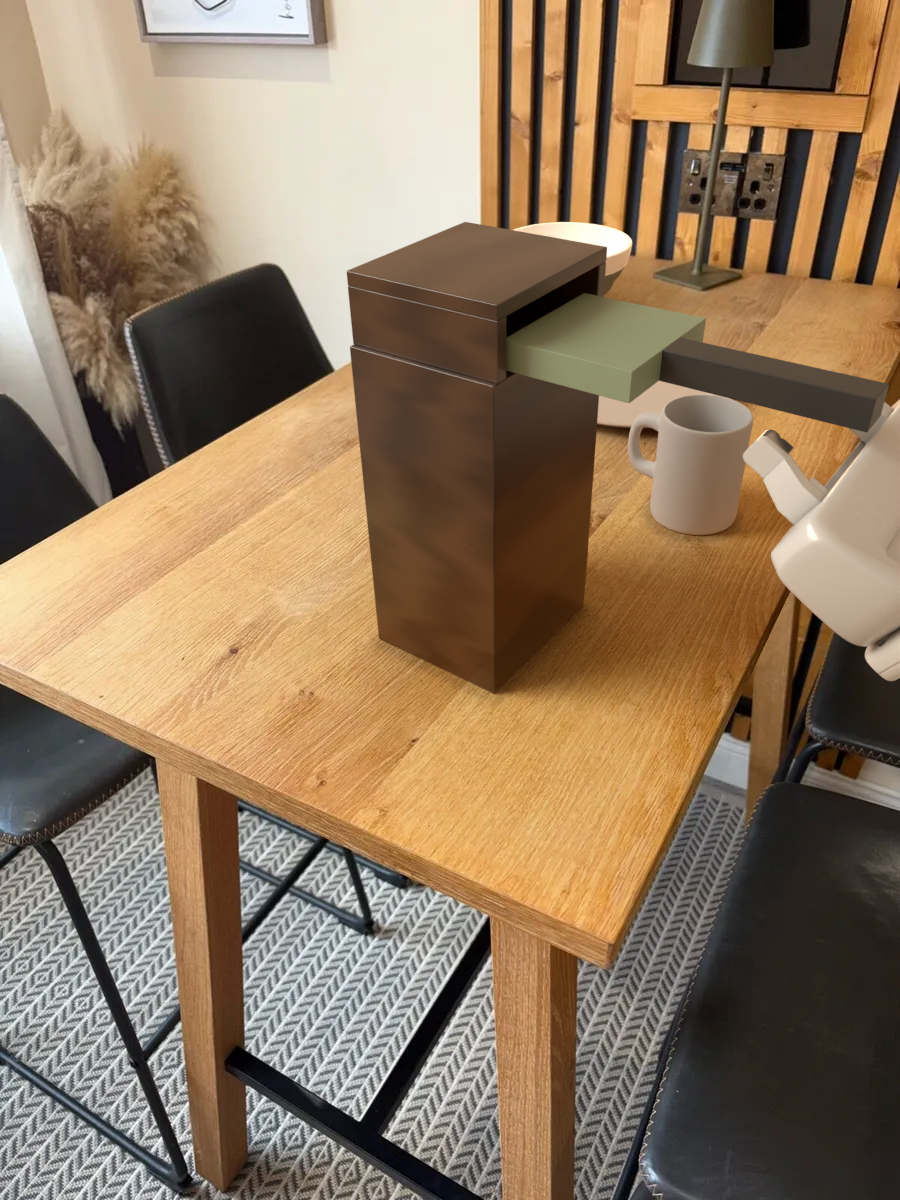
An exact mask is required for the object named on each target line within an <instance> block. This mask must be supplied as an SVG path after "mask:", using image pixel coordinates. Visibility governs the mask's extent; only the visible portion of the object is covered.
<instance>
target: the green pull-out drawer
mask: <svg viewBox="0 0 900 1200" xmlns="http://www.w3.org/2000/svg"><path fill="white" fill-rule="evenodd" d="M706 321H707V318H706V317H701V316H697V315H692V314H689V313H688V314H687V313H682V312H678V311H673V310H668V309H665V308H664V309H663V308H658V307H654V306H649V305H645V304H640V303H636V302H635V303H634V302H631V301H630V302H629V301H624V300H619V299H615V298H611V297H606V296H604V297H601V296H596V295H592V294H587V293H583V294H582V295H580V296H578V297H576V298H575V299H573V300H571V301H569V302H568V303H566V304H564V305H563V306H561V307H559V308H557V309H556V310H554V311H552V312H550V313H549V314H547V315H545V316H543V317H542V318H540V319H538V320H536V321H535V322H533V323H531V324H529V325H528V326H526V327H524V328H522V329H521V330H519V331H517V332H516V333H514V334H512V335H510V336H509V337H507V338H506V371H510V372H513V373H517V374H521V375H524V376H528V377H532V378H536V379H539V380H543V381H547V382H551V383H554V384H558V385H562V386H566V387H569V388H573V389H577V390H580V391H584V392H588V393H592V394H595V395H599V396H603V397H607V398H610V399H614V400H618V401H622V402H625V403H631V402H632V401H633V400H634V399H636V398H637V397H638V396H640V395H641V394H642V393H644V392H645V391H646V390H647V389H649V388H650V387H651V386H653V385H654V384H655V383H657V382H658V381H659V380H660V381H662V382H666V383H670V384H674V385H678V386H682V387H686V388H690V389H694V390H698V391H702V392H706V393H710V394H714V395H718V396H722V397H726V398H730V399H732V400H735V401H737V402H742V403H746V404H751V405H755V406H759V407H763V408H765V409H769V410H770V409H771V410H775V411H779V412H782V413H787V414H790V415H795V416H799V417H802V418H807V419H811V420H815V421H819V422H822V423H827V424H831V425H835V426H839V427H843V428H847V429H849V428H850V429H854V430H858V431H862V432H868V431H869V430H870V428H871V427H872V426H873V425H874V423H875V422H876V421H877V420H878V419H879V417H880V416H881V413H882V409H883V405H884V402H885V403H886V398H887V395H888V390H889V387H890V384H889V383H888V382H887V383H886V382H884V381H883V382H882V381H878V380H874V379H870V378H869V379H868V378H865V377H861V376H857V375H852V374H847V373H842V372H837V371H833V370H831V371H829V370H830V369H823V368H819V367H816V366H815V367H814V366H810V365H807V364H806V365H805V364H802V363H797V362H793V361H788V360H783V359H778V358H774V357H771V356H765V355H760V354H757V353H753V352H748V351H747V352H746V351H743V350H738V349H734V348H729V347H724V346H720V345H715V344H713V343H712V344H711V343H706V342H704V336H705V328H706ZM850 429H849V430H850Z"/></svg>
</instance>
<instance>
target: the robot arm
mask: <svg viewBox="0 0 900 1200" xmlns="http://www.w3.org/2000/svg"><path fill="white" fill-rule="evenodd" d="M828 370H829V371H832V370H831V369H828ZM848 430H849V431H851V432H852V433H853V434H854V435H855V436H856V437H857V438H858V439H859V440H860V441H859V442H858V443H857V445H856V446H855V447H854V448H853V449H852V451H851V452H850V453H849V454H848V456H847V457H846V458H845V460H843V462H842V463H841V465H839V467H838V468H837V469H836V471H835V472H834V473H833V474H832V476H831V477H830V478H829V479H828V481H827V482H826V483H825V484H824V485H823V483H821V482H820V481H819V480H818V479H817V478H816V477H811V478H810V479H808V478H807V476H806V475H805V473H804V472H803V470H802V469H801V468H800V466H799V465H798V463H797V462H796V461H795V459H794V457H793V456H792V455H791V454H790V453H791V452H792V451H793V450H794V449H795V448H794V447H795V446H793V445H792V444H791V443H790V442H789V441H787V439H785V438H782V437H781V435H780V434H779V433H778V432H777V431H776V430H773V429H766V430H764V431H763V433H762V434H761V435H760V436H758V437H757V439H755V441H753V442H752V443H751V444H750V445H749V447H748V449H747V450H746V451H745V452H744V454H743V459H744V461H745V462H746V463H745V464H747V465H748V466H749V467H750V468H751V469H752V470H753V471H754V472H755V473H756V474H757V475H759V477H761V478H762V481H763V484H764V485H765V487H766V489H767V492H768V494H769V496H770V498H771V499H772V502H773V505H774V506H775V508H776V510H777V511H778V513H780V514H781V515H782V516H784V518H785V519H786V520H788V521H789V523H791V524H792V525H791V526H790V528H789V529H788V530H787V532H786V533H785V534H784V535H783V536H782V538H780V540H779V542H777V544H776V545H775V546H774V548H773V549H772V550H771V553H770V559H771V562H772V565H773V566H774V569H775V572H776V574H777V577H778V579H779V580H780V581H781V582H782V584H783V585H784V586H785V587H786V588H787V589H788V590H789V591H790V592H791V594H793V595H794V597H796V598H797V599H798V600H799V601H800V602H801V603H802V604H803V605H804V606H805V607H806V608H807V609H808V610H809V611H810V612H812V614H814V615H815V616H816V617H817V618H818V619H819V620H820V621H822V623H824V624H825V625H826V626H827V627H829V629H831V630H832V631H833V632H834V633H835V634H836V635H838V636H839V637H841V638H842V639H843V640H844V641H846V642H848V643H850V644H852V645H855V646H858V647H866V649H865V652H864V659H865V661H866V662H867V664H868V665H869V666H870V667H871V669H872V670H873V671H874V672H875V673H876V674H877V675H878V676H880V677H881V678H882V679H884V680H885V681H888V682H895V681H897V680H899V679H900V398H899V399H898V400H897V401H896V402H895V403H894V404H892V406H890V405H889V404H888V403H887V402H886V401H885V402H884V405H883V409H882V413H881V416H880V417H879V419H878V420H877V421H876V422H875V423H874V425H873V426H872V427H871V428H870V430H869V431H868V432H862V431H858V430H854V429H850V428H848Z"/></svg>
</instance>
